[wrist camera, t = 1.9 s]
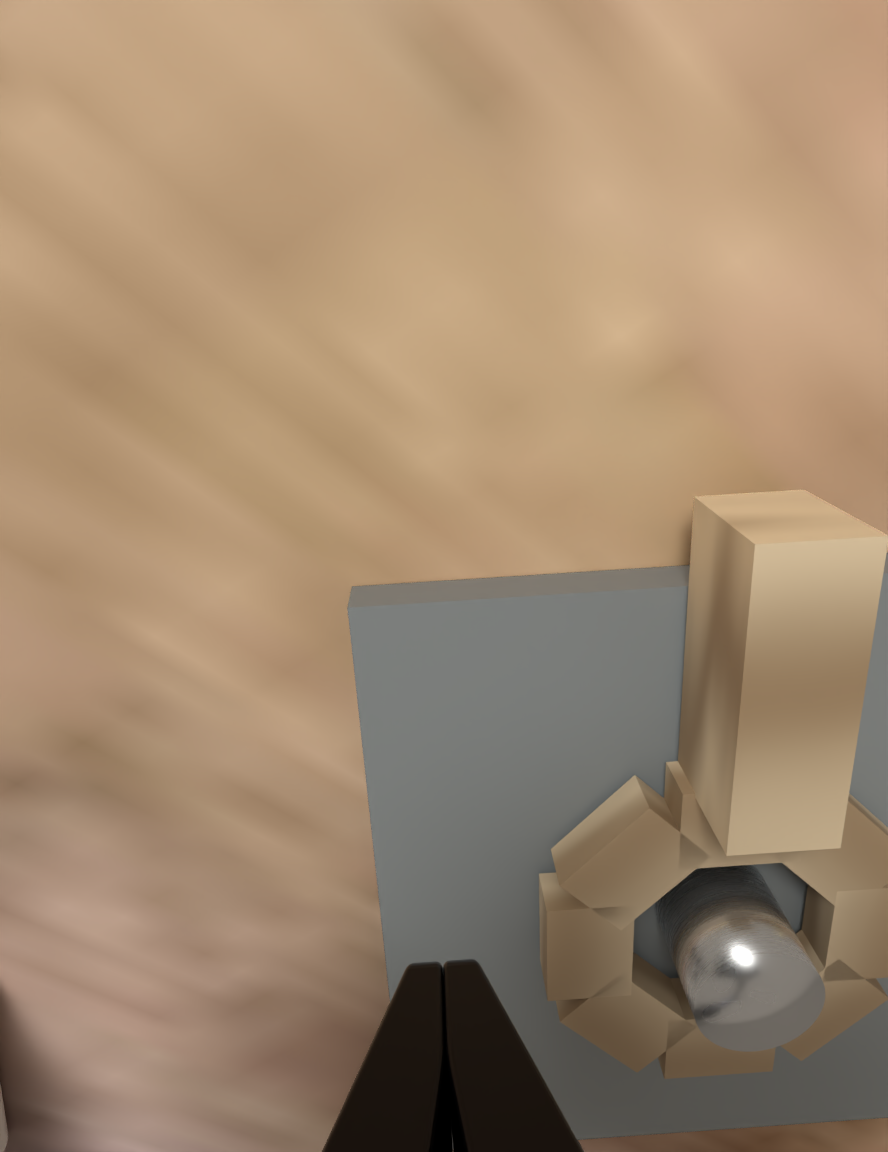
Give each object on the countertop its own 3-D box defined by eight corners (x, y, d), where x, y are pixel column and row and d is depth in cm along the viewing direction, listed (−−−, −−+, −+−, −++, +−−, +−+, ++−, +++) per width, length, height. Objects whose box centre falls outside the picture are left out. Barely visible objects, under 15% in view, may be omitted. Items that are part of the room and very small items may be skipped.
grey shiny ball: (761, 939, 20) (817, 1046, 17) (652, 946, 20) (690, 1055, 17) (771, 850, 19) (832, 949, 16) (656, 858, 19) (698, 959, 16)
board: (946, 1072, 24) (972, 1111, 23) (406, 1110, 24) (406, 1152, 22) (1077, 540, 18) (1122, 558, 17) (351, 586, 17) (347, 607, 16)
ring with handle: (862, 1021, 21) (931, 1136, 18) (541, 1043, 21) (561, 1162, 18) (962, 479, 16) (1083, 523, 13) (533, 506, 16) (559, 556, 13)
